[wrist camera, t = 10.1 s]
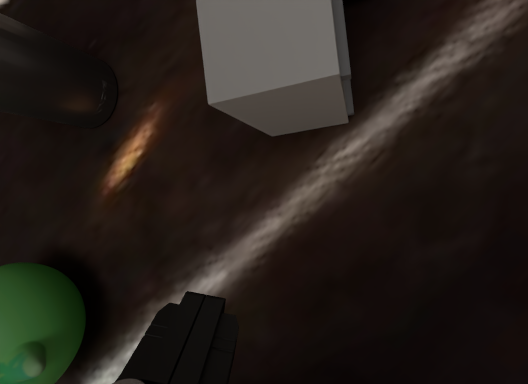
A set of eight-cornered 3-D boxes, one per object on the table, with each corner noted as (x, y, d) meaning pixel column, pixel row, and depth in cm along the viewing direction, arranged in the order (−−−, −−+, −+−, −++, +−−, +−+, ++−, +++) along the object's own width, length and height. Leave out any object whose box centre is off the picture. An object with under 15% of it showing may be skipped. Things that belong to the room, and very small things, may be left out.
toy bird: (58, 229, 42) (-91, 253, 28) (136, 310, 38) (7, 384, 24) (12, 316, 46) (-139, 375, 32) (78, 397, 42) (-61, 505, 28)
